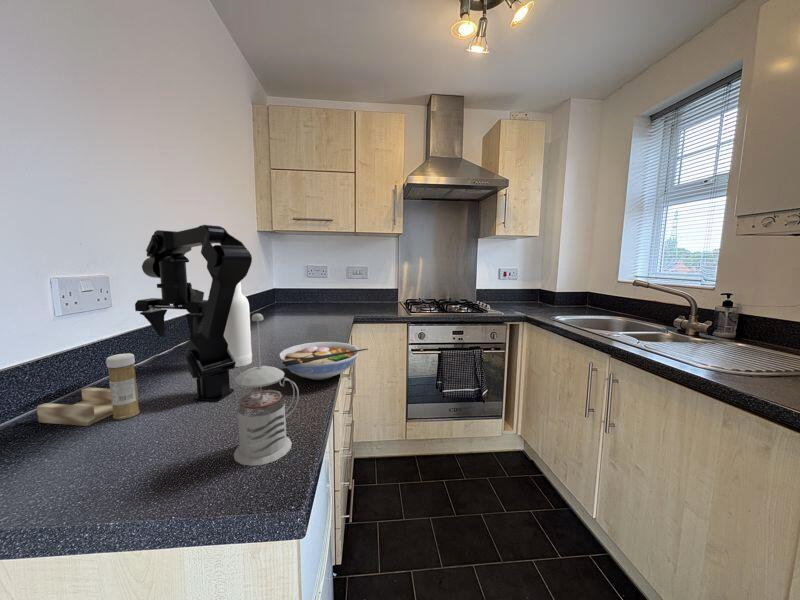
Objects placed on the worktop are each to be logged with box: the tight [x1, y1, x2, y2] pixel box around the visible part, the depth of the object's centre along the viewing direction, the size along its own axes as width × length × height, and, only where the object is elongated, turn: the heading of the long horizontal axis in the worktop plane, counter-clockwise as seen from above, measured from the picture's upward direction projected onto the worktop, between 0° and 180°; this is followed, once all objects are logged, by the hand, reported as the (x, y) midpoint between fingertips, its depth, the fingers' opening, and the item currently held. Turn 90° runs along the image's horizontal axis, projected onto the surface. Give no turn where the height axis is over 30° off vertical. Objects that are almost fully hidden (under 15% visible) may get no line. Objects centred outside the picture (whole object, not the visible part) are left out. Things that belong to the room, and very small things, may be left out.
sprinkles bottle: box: [105, 353, 140, 421], centre depth 69 cm, size 5×5×13 cm
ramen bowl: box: [278, 341, 369, 381], centre depth 95 cm, size 25×23×8 cm
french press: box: [233, 313, 300, 467], centre depth 58 cm, size 10×12×25 cm
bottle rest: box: [36, 387, 113, 427], centre depth 71 cm, size 12×10×4 cm
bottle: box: [224, 280, 253, 368], centre depth 104 cm, size 8×8×30 cm
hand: (178, 337), depth 87 cm, fingers open, 9 cm apart
